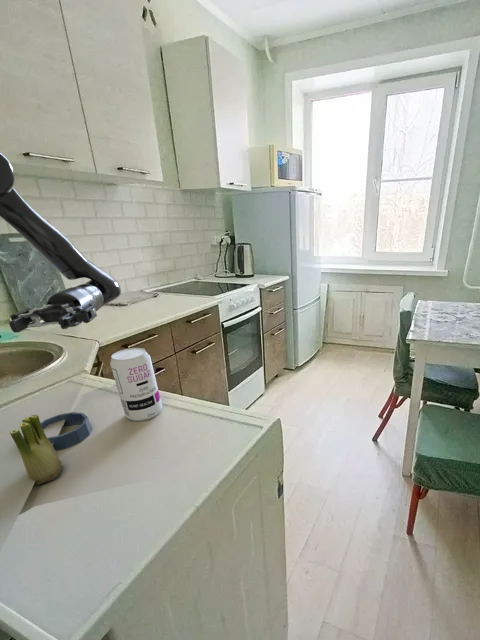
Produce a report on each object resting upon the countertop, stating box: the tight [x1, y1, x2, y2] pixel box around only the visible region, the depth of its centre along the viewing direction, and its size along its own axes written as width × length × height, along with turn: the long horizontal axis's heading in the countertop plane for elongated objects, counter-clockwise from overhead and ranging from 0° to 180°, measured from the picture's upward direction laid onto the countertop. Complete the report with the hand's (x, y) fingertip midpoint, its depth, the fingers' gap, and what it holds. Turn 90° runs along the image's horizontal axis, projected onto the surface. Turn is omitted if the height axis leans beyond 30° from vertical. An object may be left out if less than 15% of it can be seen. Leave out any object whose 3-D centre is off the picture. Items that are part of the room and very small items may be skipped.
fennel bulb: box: [9, 413, 64, 485], centre depth 61 cm, size 6×5×12 cm
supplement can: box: [109, 347, 163, 422], centre depth 79 cm, size 8×8×15 cm
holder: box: [40, 411, 93, 452], centre depth 75 cm, size 10×10×3 cm
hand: (37, 325), depth 66 cm, fingers open, 8 cm apart
